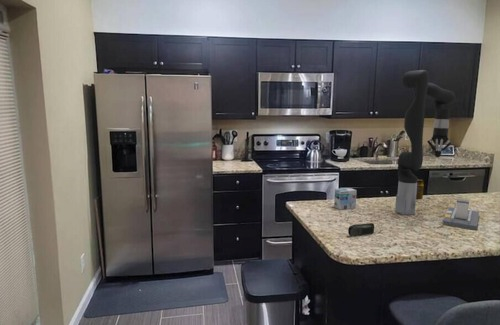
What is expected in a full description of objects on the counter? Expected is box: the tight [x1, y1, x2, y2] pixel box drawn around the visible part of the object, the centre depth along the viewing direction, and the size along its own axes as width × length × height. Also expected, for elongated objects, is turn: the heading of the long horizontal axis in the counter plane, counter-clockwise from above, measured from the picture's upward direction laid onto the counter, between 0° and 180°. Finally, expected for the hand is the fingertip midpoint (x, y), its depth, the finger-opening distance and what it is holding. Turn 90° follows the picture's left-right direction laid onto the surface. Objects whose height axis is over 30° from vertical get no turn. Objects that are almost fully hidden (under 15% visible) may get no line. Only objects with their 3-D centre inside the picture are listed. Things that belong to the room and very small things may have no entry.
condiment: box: [416, 178, 425, 201], centre depth 217 cm, size 7×8×12 cm
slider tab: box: [455, 198, 471, 219], centre depth 172 cm, size 4×5×9 cm
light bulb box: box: [333, 187, 357, 211], centre depth 196 cm, size 11×7×11 cm, turn 105°
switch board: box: [442, 206, 480, 231], centre depth 176 cm, size 28×14×4 cm, turn 145°
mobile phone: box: [347, 222, 375, 238], centre depth 155 cm, size 5×3×15 cm
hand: (437, 157), depth 199 cm, fingers closed
